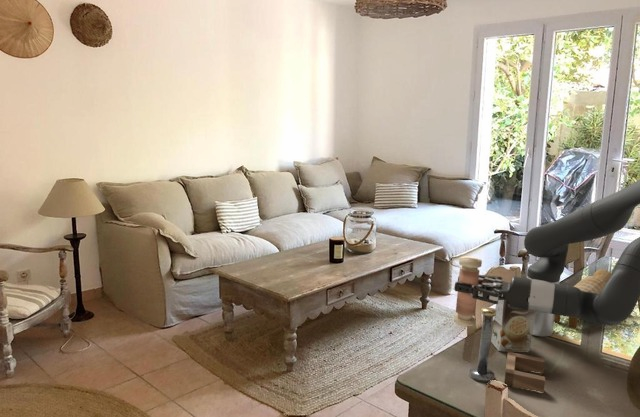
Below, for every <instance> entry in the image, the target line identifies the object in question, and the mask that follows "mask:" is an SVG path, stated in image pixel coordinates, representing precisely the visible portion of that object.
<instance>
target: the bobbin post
mask: <svg viewBox="0 0 640 417" xmlns="http://www.w3.org/2000/svg"><path fill="white" fill-rule="evenodd" d="M480 313H481V315H482V323H481V333H480V344H479V351H478V359H477V361H478V362H477V366H473V367H471V368H470V369H469V376H470V377H471V379H473V380H475V381H477V382H480V383H490V382H489V381H490V380H493V379H495V373H494V372H493V371H492V369H489V358H490V351H491V350H490V349H491V343H492V342H491V339H492V331H493V324H494V316H496V310H495V308H492V307H490V306H489V307H487V306H484V307H481V309H480ZM493 381H494V380H493Z"/></svg>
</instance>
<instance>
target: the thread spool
mask: <svg viewBox="0 0 640 417" xmlns="http://www.w3.org/2000/svg"><path fill="white" fill-rule="evenodd" d="M458 263H459V265H460V266H461V267H459V274H458V275H459V276H458V277H459V282H462V283H468V284H471V285H472V284H477V285H478V281H479V275H480V269H478V268H481V267H482V263H483V260H482V259H481V258H479V257H475V256H460V257H459V259H458ZM477 300H478V299H474V298H472V295H471V293H470V294H469V293H463V292H457V294H456V304H455V312H456V313H454V316H453V322H454V324H456V325H459V326H463V327H472V326H475V325H476V321H477V318H476V316H475V315H476V309H477V308H476V307H477Z"/></svg>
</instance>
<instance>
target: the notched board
mask: <svg viewBox="0 0 640 417" xmlns="http://www.w3.org/2000/svg"><path fill="white" fill-rule="evenodd" d="M505 364H506V365H505V374H504V381H503V384H504V383H505V384H507V385H508V386H507V387H510V388H515V387H517V388H516V389H519V388H523V389H522V390H524V389H529V390H536V391H540V392H543V393H544V391H545V384H546V377H545V376H544V375H543V376H542V375H540V374H535V373H531V372H528V371H534V372H540V373H543V374H544V367H545V358H542V357H538V356H537V357H536V356H533V355H528V354H527V355H526V354H521V353H518V352H517V353H516V352H508V351H507V358H506V363H505ZM518 369H520V370H518ZM523 370H526V371H523Z"/></svg>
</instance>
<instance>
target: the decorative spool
mask: <svg viewBox="0 0 640 417" xmlns="http://www.w3.org/2000/svg"><path fill="white" fill-rule="evenodd" d="M611 274H612V272H610V271H608V270H606V269H598V270H596V271H595V272H594V273H593V275H589V276H584V277H583V279H582V278H581V280H580V281H578V282H577V283H576V284H575V285H574V286H573V285H572V286H573V287H576V288H579V289H580V290H581V291H585V292H591V293H597V294H600V293H601V291H602V290H603V288H604V287H605V285H606V283H607V282H608V280H609V279H610V277H611ZM578 320H579V318H575V317H568V327H570V328H573V329H577V328H578ZM560 321H561V315H555V319H554V323H559V324H560Z"/></svg>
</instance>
